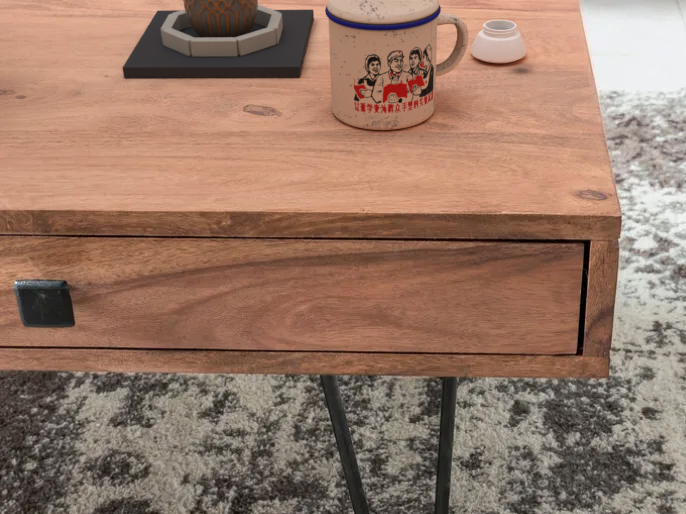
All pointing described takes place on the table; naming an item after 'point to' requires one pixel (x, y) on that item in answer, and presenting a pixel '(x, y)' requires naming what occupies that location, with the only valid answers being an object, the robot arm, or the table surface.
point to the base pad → (222, 48)
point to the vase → (221, 17)
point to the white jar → (498, 42)
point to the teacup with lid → (387, 60)
